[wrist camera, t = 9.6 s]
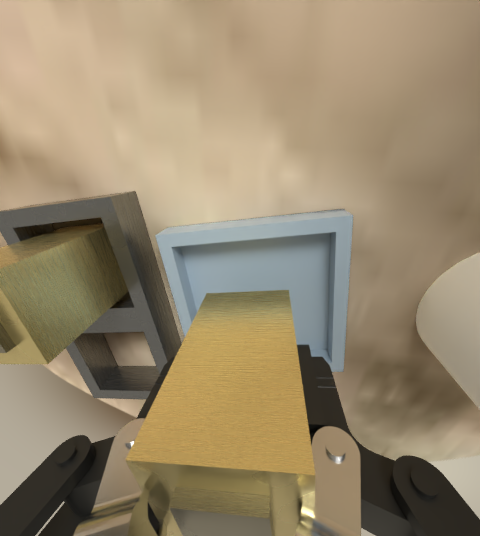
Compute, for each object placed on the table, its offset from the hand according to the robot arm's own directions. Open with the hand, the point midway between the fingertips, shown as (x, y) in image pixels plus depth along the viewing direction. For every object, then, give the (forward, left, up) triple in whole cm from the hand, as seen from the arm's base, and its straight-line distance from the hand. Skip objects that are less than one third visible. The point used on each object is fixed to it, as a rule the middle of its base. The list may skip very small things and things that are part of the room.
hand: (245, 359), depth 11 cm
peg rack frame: (+11, 0, -6) cm, 12 cm away
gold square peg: (0, 0, -3) cm, 3 cm away
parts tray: (0, 0, -6) cm, 6 cm away
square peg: (+11, -4, -6) cm, 13 cm away
